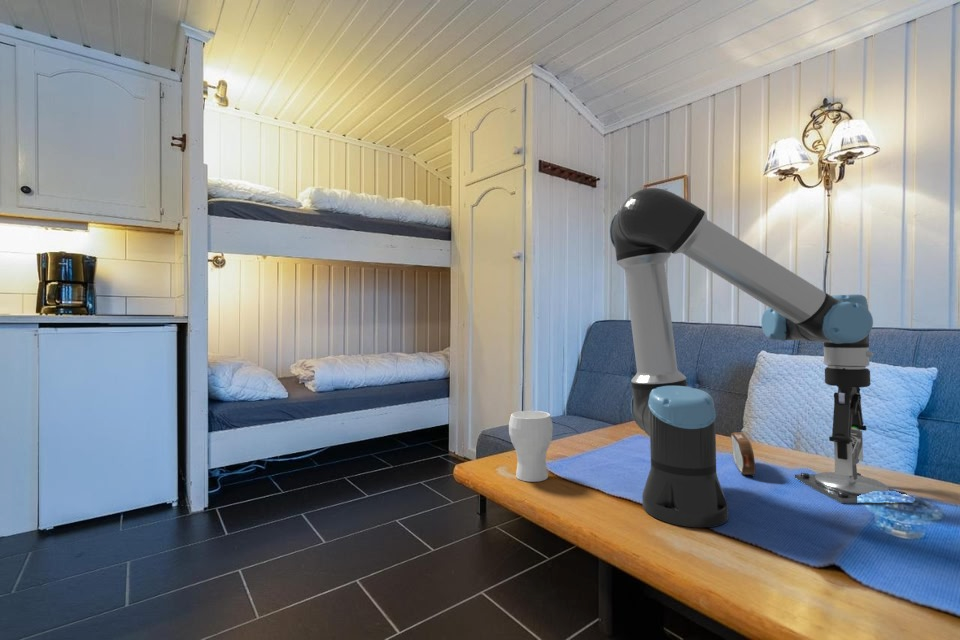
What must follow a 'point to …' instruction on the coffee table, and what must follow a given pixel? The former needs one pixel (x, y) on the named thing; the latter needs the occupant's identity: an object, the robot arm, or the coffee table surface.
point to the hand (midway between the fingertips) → (849, 466)
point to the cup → (531, 443)
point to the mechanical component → (855, 448)
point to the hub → (843, 485)
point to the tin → (743, 453)
